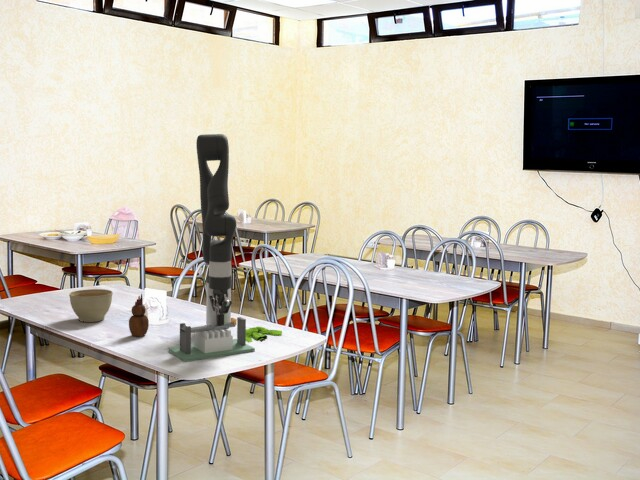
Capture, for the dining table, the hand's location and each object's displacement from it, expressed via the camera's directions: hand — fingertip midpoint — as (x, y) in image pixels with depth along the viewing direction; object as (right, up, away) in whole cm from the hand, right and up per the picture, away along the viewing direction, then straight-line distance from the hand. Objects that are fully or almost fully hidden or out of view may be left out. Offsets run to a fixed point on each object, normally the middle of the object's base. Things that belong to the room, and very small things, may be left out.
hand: (220, 325), depth 238 cm
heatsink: (-3, -9, -1) cm, 9 cm away
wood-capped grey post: (-3, -1, -2) cm, 4 cm away
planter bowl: (-56, -3, +40) cm, 69 cm away
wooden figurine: (-32, -6, +17) cm, 37 cm away
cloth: (+12, -7, +21) cm, 26 cm away
